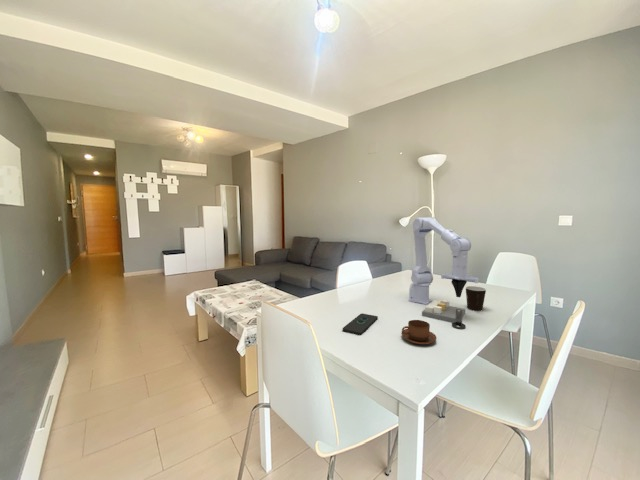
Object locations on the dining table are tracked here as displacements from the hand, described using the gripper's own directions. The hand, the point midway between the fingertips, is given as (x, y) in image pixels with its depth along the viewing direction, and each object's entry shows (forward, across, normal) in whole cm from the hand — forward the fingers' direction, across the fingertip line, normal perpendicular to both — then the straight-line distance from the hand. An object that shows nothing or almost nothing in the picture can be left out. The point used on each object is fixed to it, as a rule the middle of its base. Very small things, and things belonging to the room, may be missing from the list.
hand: (458, 296), depth 122 cm
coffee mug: (+10, +3, +16) cm, 19 cm away
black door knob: (+9, +3, -11) cm, 15 cm away
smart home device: (+10, -29, -34) cm, 46 cm away
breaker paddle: (+7, -7, 0) cm, 10 cm away
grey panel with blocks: (+9, -6, 0) cm, 11 cm away
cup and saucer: (+10, -5, -33) cm, 35 cm away
